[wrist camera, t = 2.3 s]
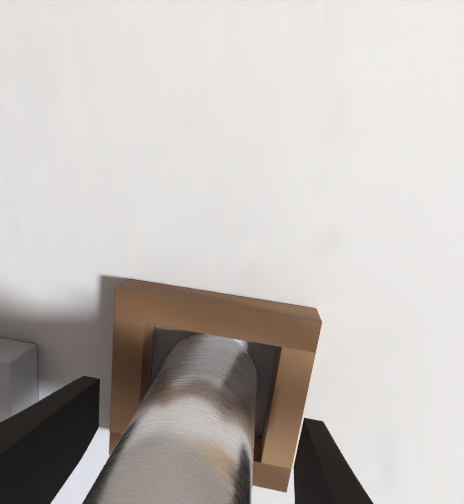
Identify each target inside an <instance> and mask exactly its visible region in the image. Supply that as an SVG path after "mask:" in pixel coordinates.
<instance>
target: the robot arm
mask: <svg viewBox="0 0 464 504" xmlns="http://www.w3.org/2000/svg"><path fill="white" fill-rule="evenodd" d="M99 392H100V379H97V378H92V377H87V376H83V377H81V378H79V379H77V380H75V381H73V382H72V383H70V384H68V385H66V386H65V387H63V388H61V389H59V390H58V391H56V392H54V393H52V394H51V395H49V396H47V397H46V398H44V399H42V400H40V401H38V402H37V403H35V404H33V405H31V406H30V407H28V408H26V409H24V410H23V411H21V412H19V413H17V414H15V415H13V416H11V417H10V418H8V419H6V420H4V421H2V422H0V504H50V503H51V502H52V500H53V499H54V498H55V496H56V495H57V493H58V492H59V490H60V489H61V488H62V486H63V485H64V483H65V482H66V480H67V479H68V477H69V476H70V475H71V473H72V472H73V470H74V469H75V467H76V466H77V464H78V463H79V461H80V460H81V458H82V457H83V455H84V453H85V451H86V450H87V448H88V446H89V444H90V442H91V441H92V439H93V437H94V435H95V433H96V431H97V429H98V427H99ZM294 490H295V504H373V502H372V501H371V499H370V498H369V496H368V495H367V493H366V492H365V490H364V489H363V487H362V485H361V484H360V482H359V481H358V479H357V478H356V476H355V475H354V473H353V471H352V470H351V468H350V467H349V465H348V463H347V462H346V460H345V458H344V457H343V455H342V453H341V452H340V450H339V448H338V446H337V445H336V443H335V441H334V440H333V438H332V436H331V434H330V433H329V431H328V429H327V427H326V425H325V424H324V423H323V421H318V420H313V419H308V418H304V421H303V426H302V430H301V435H300V440H299V445H298V449H297V454H296V459H295V463H294Z"/></svg>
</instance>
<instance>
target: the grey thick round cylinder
mask: <svg viewBox="0 0 464 504" xmlns="http://www.w3.org/2000/svg"><path fill="white" fill-rule="evenodd" d="M256 392H257V372H256V367H255V365H254V362H253V360H252V358H251V357H250V355H249V354H248V352H247V351H246V350H245V349H244V348H243V347H242V346H241V345H240V344H238V343H237V342H235V341H234V340H232V339H230V338H226V337H220V336H215V335H209V334H203V333H201V334H195V335H192V336H189V337H187V338H185V339H183V340H182V341H180V342H179V343H178V344H177V345H176V346H175V347H174V348H173V349H172V351H171V352H170V354H169V356H168V357H167V359H166V361H165V362H164V364H163V366H162V368H161V369H160V371H159V373H158V374H157V376H156V378H155V380H154V381H153V383H152V385H151V386H150V388H149V390H148V392H147V393H146V395H145V397H144V398H143V400H142V402H141V404H140V405H139V407H138V409H137V411H136V412H135V414H134V416H133V417H132V419H131V421H130V423H129V424H128V426H127V428H126V429H125V431H124V433H123V435H122V436H121V438H120V440H119V441H118V443H117V445H116V447H115V448H114V450H113V452H112V453H111V455H110V457H109V459H108V460H107V462H106V464H105V465H104V467H103V469H102V471H101V472H100V474H99V476H98V478H97V479H96V481H95V483H94V484H93V486H92V488H91V490H90V491H89V493H88V495H87V496H86V498H85V500H84V502H83V503H82V504H251V498H252V477H253V455H254V434H255V413H256Z"/></svg>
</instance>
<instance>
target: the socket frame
mask: <svg viewBox="0 0 464 504" xmlns="http://www.w3.org/2000/svg"><path fill="white" fill-rule="evenodd" d="M155 325H156V326H162V327H168V328H174V329H180V330H186V331H191V332H197V333H203V334H209V335H215V336H220V337H226V338H232V339H238V340H244V341H250V342H255V343H261V344H267V345H273V346H278V349H277V355H276V360H275V366H274V372H273V377H272V383H271V389H270V394H269V400H268V406H267V411H266V417H265V423H264V428H263V434H262V438H259V437H254V455H253V477H252V485H254V486H258V487H263V488H268V489H273V490H277V491H282V492H286V491H287V487H288V482H289V477H290V472H291V468H292V463H293V458H294V453H295V448H296V444H297V439H298V434H299V429H300V425H301V420H302V415H303V410H304V406H305V401H306V396H307V391H308V387H309V382H310V377H311V372H312V367H313V363H314V358H315V353H316V348H317V344H318V339H319V334H320V329H321V325H322V321H321V319H320V316H319V314H318V312H317V309H315V308H309V307H302V306H296V305H290V304H284V303H277V302H271V301H265V300H259V299H252V298H246V297H240V296H234V295H227V294H221V293H215V292H208V291H202V290H196V289H190V288H183V287H177V286H171V285H165V284H158V283H152V282H146V281H139V280H133V279H129V280H127V281H126V282H124V283H123V284H121V285H120V286H118V287H117V288H115V306H114V333H113V361H112V388H111V416H110V443H109V455H111V453H112V452H113V450H114V448H115V447H116V445H117V443H118V441H119V440H120V438H121V436H122V435H123V433H124V431H125V429H126V428H127V426H128V424H129V423H130V421H131V419H132V417H133V416H134V414H135V412H136V411H137V409H138V407H139V405H140V404H141V402H142V400H143V398H144V397H145V395H146V393H147V392H148V390H149V388H150V386H151V373H152V359H153V344H154V330H155Z"/></svg>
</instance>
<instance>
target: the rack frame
mask: <svg viewBox="0 0 464 504" xmlns="http://www.w3.org/2000/svg"><path fill="white" fill-rule="evenodd" d="M37 402H38V367H37V344H32V343H27V342H22V341H16V340H11V339H5V338H0V422H2V421H4V420H6V419H8V418H10V417H11V416H13V415H15V414H17V413H19V412H21V411H23V410H24V409H26V408H28V407H30V406H31V405H33V404H35V403H37Z"/></svg>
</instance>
